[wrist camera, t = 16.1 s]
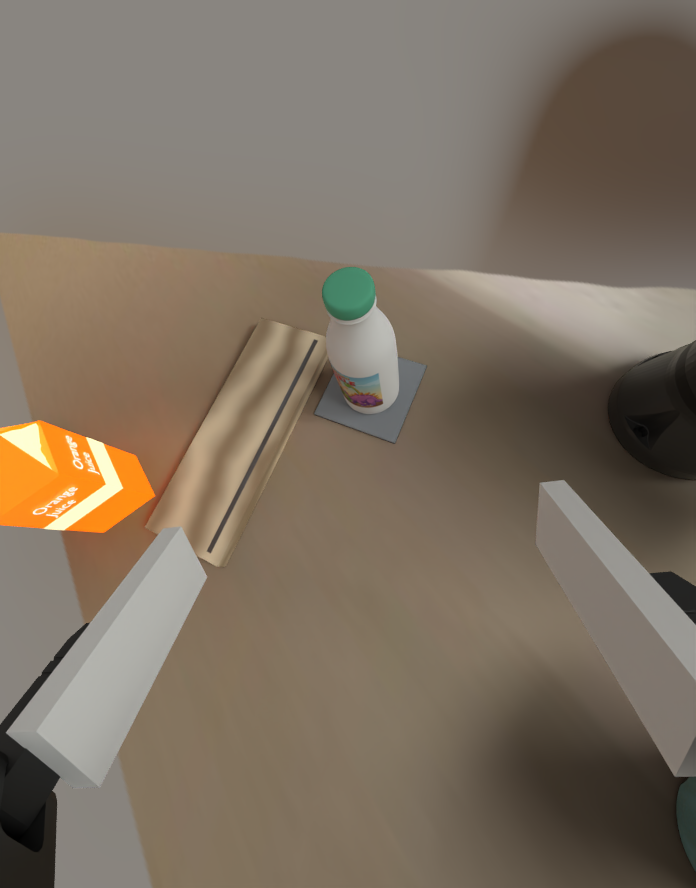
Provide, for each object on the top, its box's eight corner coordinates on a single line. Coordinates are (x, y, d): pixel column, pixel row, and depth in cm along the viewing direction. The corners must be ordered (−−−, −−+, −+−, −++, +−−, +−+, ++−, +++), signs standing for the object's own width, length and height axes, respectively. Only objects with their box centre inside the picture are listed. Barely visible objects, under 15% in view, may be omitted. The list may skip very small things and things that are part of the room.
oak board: (334, 346, 52) (331, 337, 50) (225, 566, 45) (217, 567, 43) (266, 325, 55) (261, 317, 53) (154, 528, 48) (144, 527, 46)
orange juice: (85, 489, 52) (-99, 452, 33) (135, 454, 52) (-18, 397, 33) (103, 534, 49) (-87, 521, 30) (156, 496, 49) (1, 460, 31)
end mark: (426, 366, 49) (426, 365, 48) (394, 443, 46) (394, 442, 46) (348, 344, 52) (348, 342, 51) (314, 414, 49) (314, 413, 49)
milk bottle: (370, 355, 50) (347, 236, 31) (411, 387, 48) (412, 278, 29) (332, 392, 49) (285, 293, 30) (371, 427, 47) (346, 342, 28)
